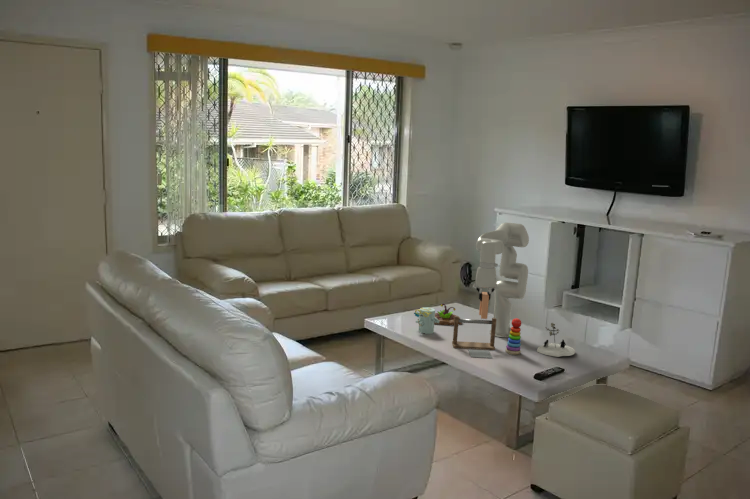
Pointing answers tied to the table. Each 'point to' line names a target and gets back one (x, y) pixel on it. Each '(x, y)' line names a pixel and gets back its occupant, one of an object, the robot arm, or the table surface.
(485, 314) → the tall peach block
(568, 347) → the figurine
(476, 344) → the rack
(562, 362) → the table surface
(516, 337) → the stacking toy
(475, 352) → the mat
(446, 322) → the plant
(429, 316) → the character sculpture
